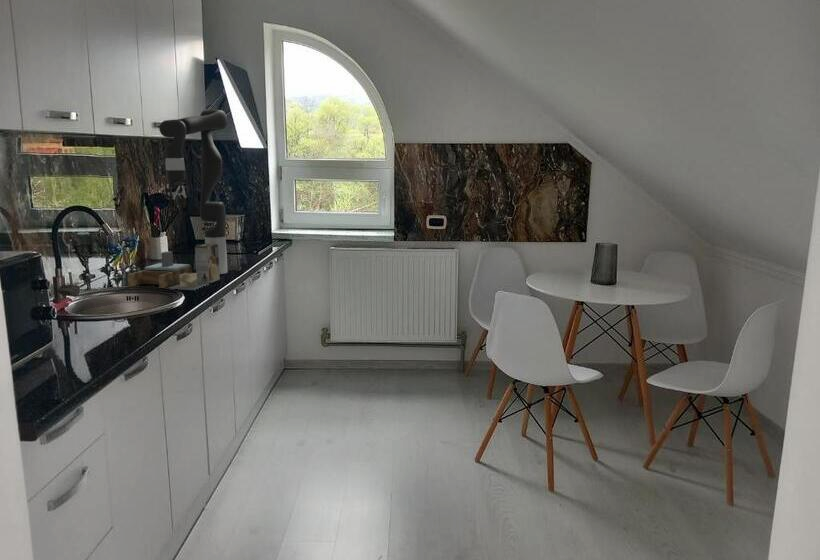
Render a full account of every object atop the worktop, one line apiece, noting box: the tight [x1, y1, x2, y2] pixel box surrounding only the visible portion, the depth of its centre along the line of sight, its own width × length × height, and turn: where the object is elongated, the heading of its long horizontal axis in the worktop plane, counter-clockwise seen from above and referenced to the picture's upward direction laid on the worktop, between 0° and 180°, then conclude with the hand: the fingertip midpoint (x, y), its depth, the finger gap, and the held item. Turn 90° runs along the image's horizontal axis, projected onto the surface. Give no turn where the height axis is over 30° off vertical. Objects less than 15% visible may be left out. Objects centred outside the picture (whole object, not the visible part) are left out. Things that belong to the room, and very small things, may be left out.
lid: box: [144, 251, 191, 271], centre depth 276 cm, size 11×15×7 cm
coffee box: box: [194, 243, 221, 284], centre depth 275 cm, size 9×6×16 cm
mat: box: [168, 283, 210, 291], centre depth 264 cm, size 12×12×1 cm
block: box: [179, 272, 197, 287], centre depth 264 cm, size 5×5×5 cm
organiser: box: [127, 265, 193, 289], centre depth 272 cm, size 24×15×6 cm, turn 170°
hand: (177, 207), depth 268 cm, fingers open, 8 cm apart
